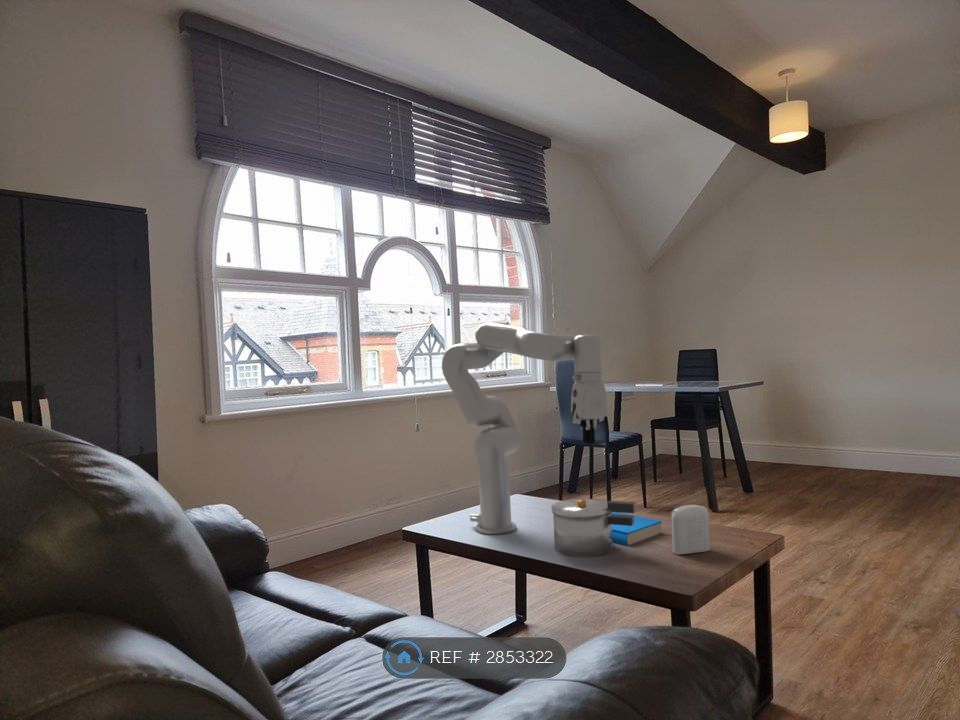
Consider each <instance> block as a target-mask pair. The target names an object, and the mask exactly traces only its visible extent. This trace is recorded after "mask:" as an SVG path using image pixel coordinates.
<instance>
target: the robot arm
mask: <svg viewBox="0 0 960 720" xmlns="http://www.w3.org/2000/svg"><path fill="white" fill-rule="evenodd" d="M474 334H475V335H474V336H475V337H474V338H475V341H476V342H464V343H463V342H461V343H456V344H453V345H451V346H449V347H448V348H447V349H446V350H445V352H444V354H443V356H442V360H441V369H442V375H443V377H444V379H445V381H446V383H447V385H448V386H449V388H450V390H451V391H452V394H453V395H454V397H455V400H456V402H457V404H458V406H459V409H460V410H461V413H462V414H463V417H464V419H465V422H467V424H468V425H469V426H471V427H472V428H483V427H484V428H485V427H488V428H486V429H483V430H481V431H480V432H479V433H478V434H477V435H476V437H475V440H474V442H473V444H474V445H473V446H474V447H473V448H474V453H475V456H476V461H477V469H478V470H477V471H478V484H479V485H478V488H479V489H478V490H479V511H480V513H479V514H477V513H470V515H469V521H470V522H476V523H477V524H476V527H475V528H476V529H475V530H476V531H477V532H478V533H481V534H486V535H501V534H508V533H512V532H515V530H516V529H517V523H516V522H514V521H512V508H511V486H510V483H511V482H510V470H509V466H508V464H507V463H508V462H507V460H506V458H505V457H506V456H509V455H511V454H515V453H517V451H519V449H520V448H521V445H522V435H521V433H520V430H519V428H518V426H517V424H516V422H515V420H514V418H513V416H512V413H511V412H510V410H509V408H508V407H507V404H506V403H505V402H504V401H503V400H502V398H500V397H498V396H496V395H485V394H484V393H483V391H482V389H481V387H480V385H479V383H478V381H477V380H476V378H475V377H473V375H472V374H471V373H470V372H469V370H476V369H478V370H479V369H483V368H486V367H488V366H489V365H491V364H492V363H493V362H494V361H496V359H498V358H499V357H500V356H502V354H504V353H506V354H507V353H508V354H513V355H518V356H523V357H527V358H531V359H536V360H541V361H548V362H549V361H550V362H561V361H563V362H564V361H571V360H573V362H574V365H573V367H574V368H573V370H574V374H573V375H572V376H571V377H572V380H573V381H574V383H573V385H572V390H571V396H570V398H571V399H570V414H571V417H572V424H577V425H579V427H580V430H582V442H583V444H589V445H591V444H592V445H593V444H595V443H596V440H595V439H596V438H595V437H596V433H595V430H596V429H597V428H598V427H597V426H598V424H599V423H601V422H603V421H605V418H606V417H607V416H608V401H607V393H606V387H605V383H604V382H602V339H601V336H599V335H598V334H578V335H575V334H561V333H560V334H550V333H543V332H538V331H537V332H536V331H531V330H529V329H528V328H527V327H525V326H519V325H511V324H508V323H506V322H502V321H501V322H493V321H491V322H490V321H487V322H484V323H481V324H480V325H479V326H477V329H476V331H475V333H474Z"/></svg>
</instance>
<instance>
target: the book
mask: <svg viewBox="0 0 960 720" xmlns="http://www.w3.org/2000/svg"><path fill="white" fill-rule="evenodd" d="M612 514H618V515H630V513H622V512H612ZM631 515H632V516H634V524H633V525H632V526H626V525H613V524H612V536H613V543H616V544H617V543H618V544H620V545H625V546H629V545H633V544H635V543H637V542H641V541H643V540H646V539H649V538H651V537H654V536H657V535H659V533H660V534H662V520H659V519H653V518H649V517H645V516H643V517H642V516H640V515H633V514H631Z"/></svg>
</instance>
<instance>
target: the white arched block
mask: <svg viewBox="0 0 960 720" xmlns="http://www.w3.org/2000/svg"><path fill="white" fill-rule="evenodd" d="M709 514H710V513H709V511H708V508H707V507H706V506H703V505H698V504H686V505H682V506H679V507H677V508H674V509H673V510H672V511H671V513H670V522H671V525H670V527H671V529H670V530H671V549H672V553H673V554H675V555H679V556H680V555H687V554H688V555H689V554H695V553H704V552H709V551H710V550H711V547H710V546H711V545H710V544H711V543H710V536H711V535H710V515H709Z"/></svg>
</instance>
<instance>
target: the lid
mask: <svg viewBox="0 0 960 720" xmlns="http://www.w3.org/2000/svg"><path fill="white" fill-rule="evenodd" d="M612 512H619V513H624V514H634V513H636V502H635V501H621V500H609V501H604V500H598V499H587V498H584V499H583V498H582V499H581V498H580V499H577V498H576V499H575V498H574V499H567V500H562V501H557V502H554V503H553V504H552V505H551V513H552V515H553V514H555V515H557V516H561V517H566V518H577V519H586V518H597V517H603V516H606V515H609V514H611V513H612Z"/></svg>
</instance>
